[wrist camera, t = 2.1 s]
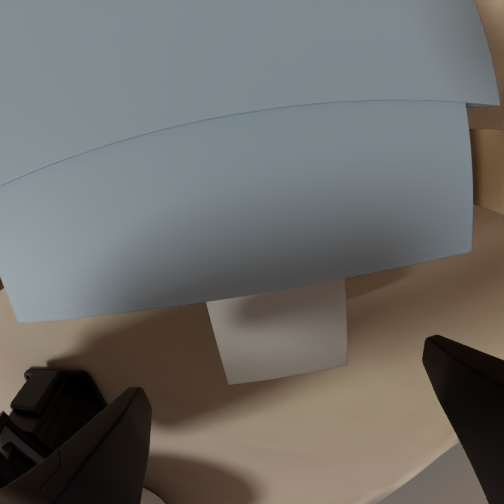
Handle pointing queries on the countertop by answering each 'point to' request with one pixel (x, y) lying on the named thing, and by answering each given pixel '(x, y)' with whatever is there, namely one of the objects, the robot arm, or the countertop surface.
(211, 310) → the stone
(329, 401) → the countertop surface
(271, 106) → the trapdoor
